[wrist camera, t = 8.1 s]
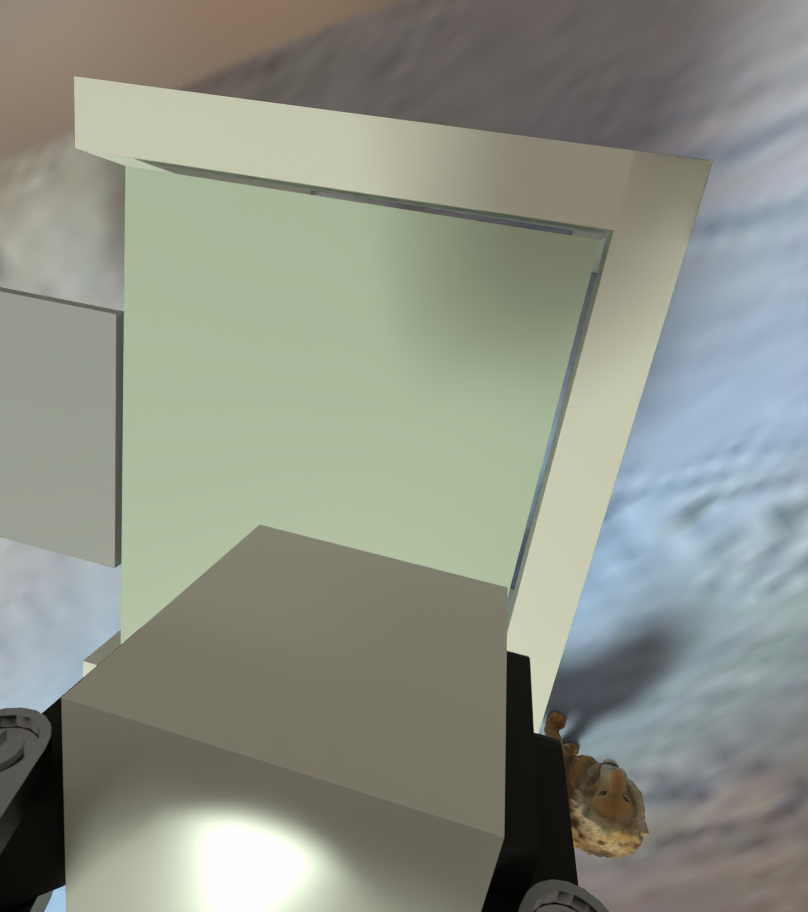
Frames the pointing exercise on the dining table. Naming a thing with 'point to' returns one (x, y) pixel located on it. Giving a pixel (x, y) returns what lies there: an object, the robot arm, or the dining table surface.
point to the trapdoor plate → (288, 386)
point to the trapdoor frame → (477, 193)
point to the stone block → (293, 741)
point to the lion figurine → (600, 801)
